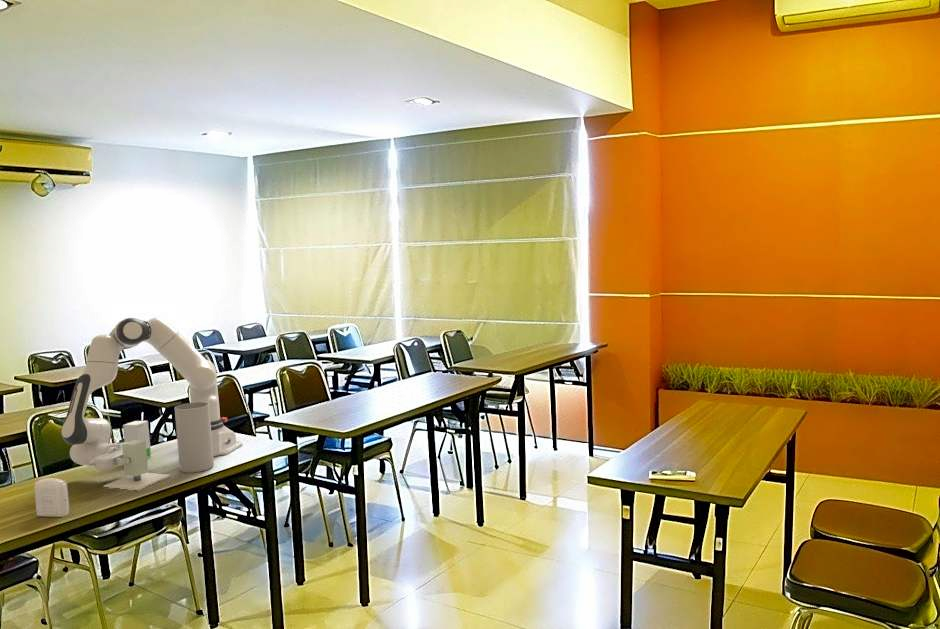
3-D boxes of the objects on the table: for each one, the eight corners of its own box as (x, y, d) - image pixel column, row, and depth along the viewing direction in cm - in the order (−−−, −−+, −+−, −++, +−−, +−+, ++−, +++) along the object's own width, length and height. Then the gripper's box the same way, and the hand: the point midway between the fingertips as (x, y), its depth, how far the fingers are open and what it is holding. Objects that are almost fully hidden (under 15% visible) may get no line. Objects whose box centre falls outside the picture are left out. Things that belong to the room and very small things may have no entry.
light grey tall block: (136, 470, 273) (133, 440, 272) (148, 471, 271) (145, 440, 270) (124, 475, 268) (121, 444, 267) (136, 476, 266) (133, 444, 265)
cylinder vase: (174, 474, 278) (169, 410, 275) (187, 464, 290) (182, 402, 288) (207, 472, 278) (201, 408, 275) (218, 463, 290) (213, 401, 288)
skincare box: (139, 462, 295) (135, 425, 294) (124, 462, 297) (121, 425, 295) (152, 456, 304) (148, 420, 302) (138, 456, 305) (134, 420, 303)
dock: (137, 473, 280) (135, 455, 279) (170, 476, 275) (168, 457, 274) (103, 487, 265) (101, 468, 264) (138, 490, 260) (136, 471, 259)
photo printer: (72, 512, 240) (68, 476, 239) (63, 517, 236) (59, 480, 235) (44, 512, 242) (40, 476, 241) (34, 517, 238) (30, 480, 236)
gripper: (84, 455, 263) (113, 457, 259) (128, 440, 283) (156, 442, 278) (85, 472, 264) (115, 474, 259) (129, 456, 283) (157, 458, 278)
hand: (136, 457), depth 269 cm, fingers closed on light grey tall block, 6 cm apart
